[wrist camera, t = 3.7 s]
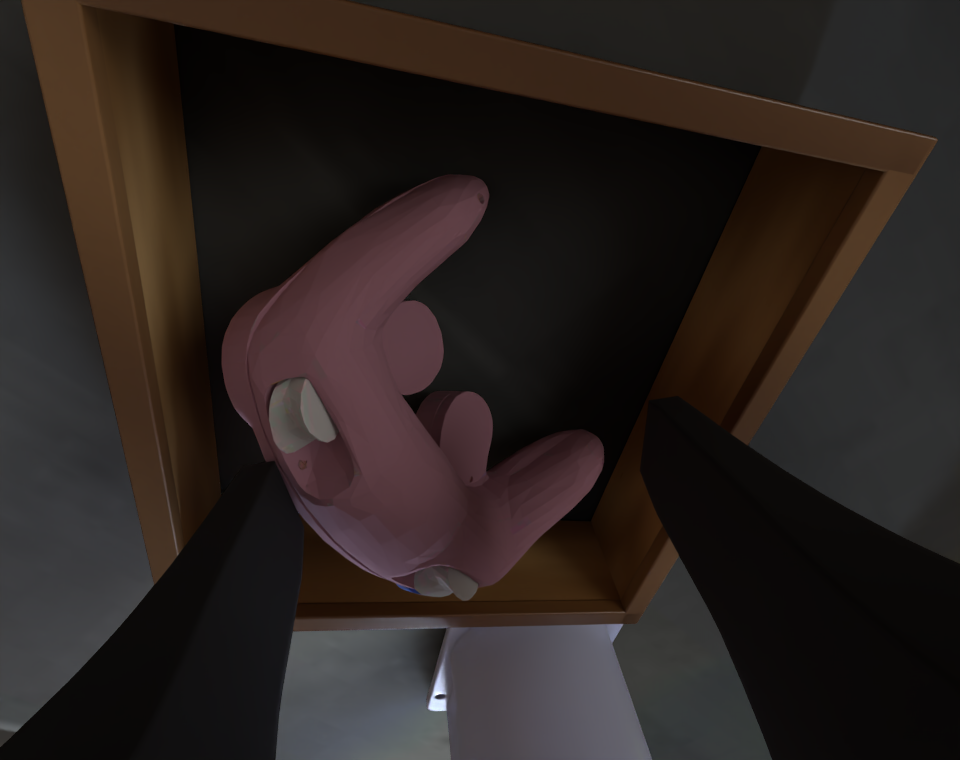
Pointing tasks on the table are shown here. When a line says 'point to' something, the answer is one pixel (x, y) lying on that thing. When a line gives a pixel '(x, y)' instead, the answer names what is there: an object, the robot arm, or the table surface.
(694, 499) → the robot arm
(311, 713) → the table surface
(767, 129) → the wooden frame
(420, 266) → the video game controller
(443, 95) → the table surface
